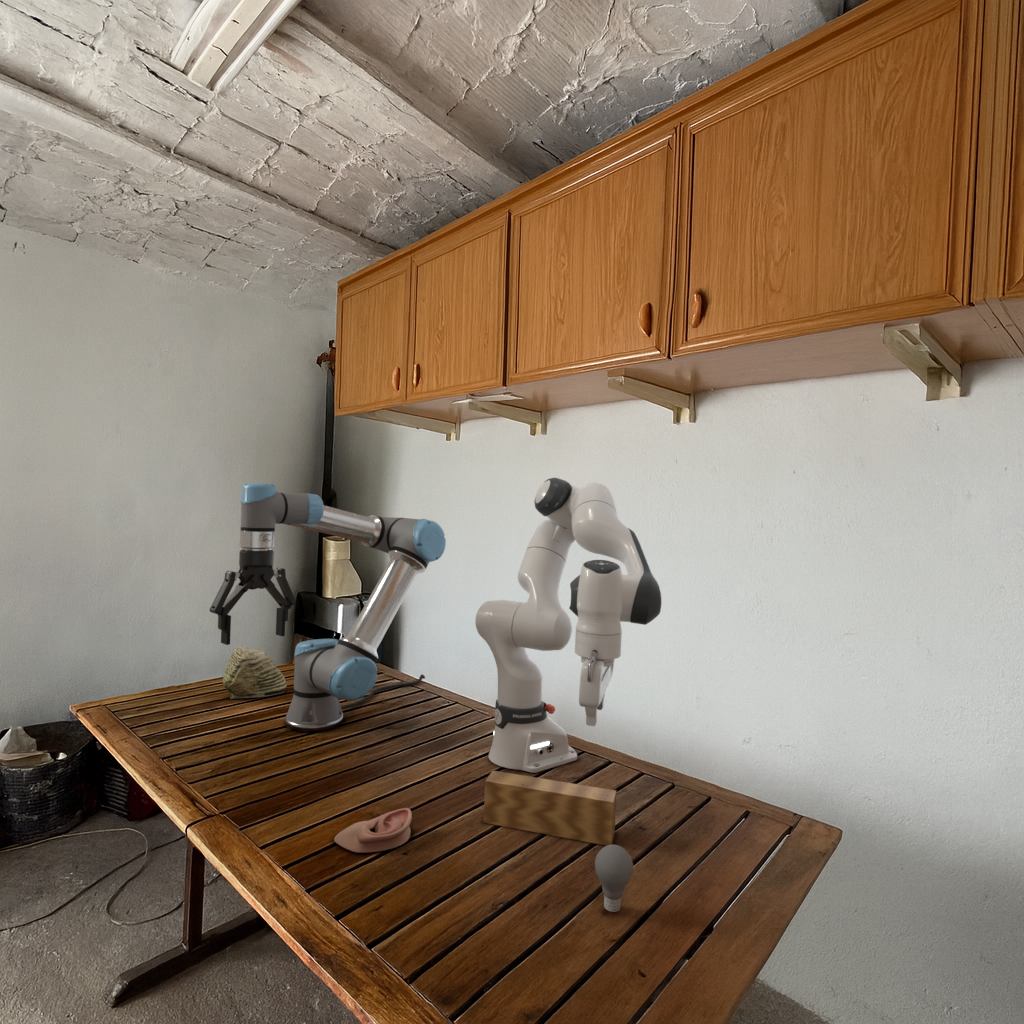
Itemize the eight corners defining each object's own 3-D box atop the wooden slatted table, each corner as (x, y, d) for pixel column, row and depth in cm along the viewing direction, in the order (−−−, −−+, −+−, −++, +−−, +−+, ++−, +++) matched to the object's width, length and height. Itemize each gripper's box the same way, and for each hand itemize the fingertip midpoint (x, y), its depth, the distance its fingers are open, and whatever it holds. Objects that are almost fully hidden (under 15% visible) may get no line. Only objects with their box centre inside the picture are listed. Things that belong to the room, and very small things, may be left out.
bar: (483, 822, 126) (485, 780, 126) (491, 810, 131) (492, 770, 131) (611, 846, 119) (613, 802, 119) (614, 833, 124) (616, 790, 124)
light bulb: (589, 897, 103) (592, 837, 103) (625, 897, 104) (628, 837, 104) (597, 922, 97) (600, 857, 97) (635, 921, 98) (638, 857, 98)
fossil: (218, 695, 195) (220, 647, 195) (278, 685, 208) (279, 640, 207) (228, 703, 189) (230, 653, 188) (289, 692, 201) (290, 645, 201)
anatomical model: (326, 826, 114) (355, 797, 125) (325, 847, 114) (354, 817, 126) (396, 837, 112) (418, 806, 123) (395, 859, 112) (417, 827, 123)
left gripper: (211, 552, 136) (208, 650, 136) (312, 548, 155) (309, 634, 156) (195, 549, 141) (192, 644, 141) (295, 546, 160) (292, 629, 161)
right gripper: (607, 660, 111) (604, 737, 112) (620, 636, 131) (617, 702, 131) (572, 656, 113) (569, 732, 113) (589, 633, 133) (587, 698, 133)
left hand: (253, 639), depth 148 cm, fingers open, 13 cm apart
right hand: (595, 716), depth 122 cm, fingers open, 8 cm apart
